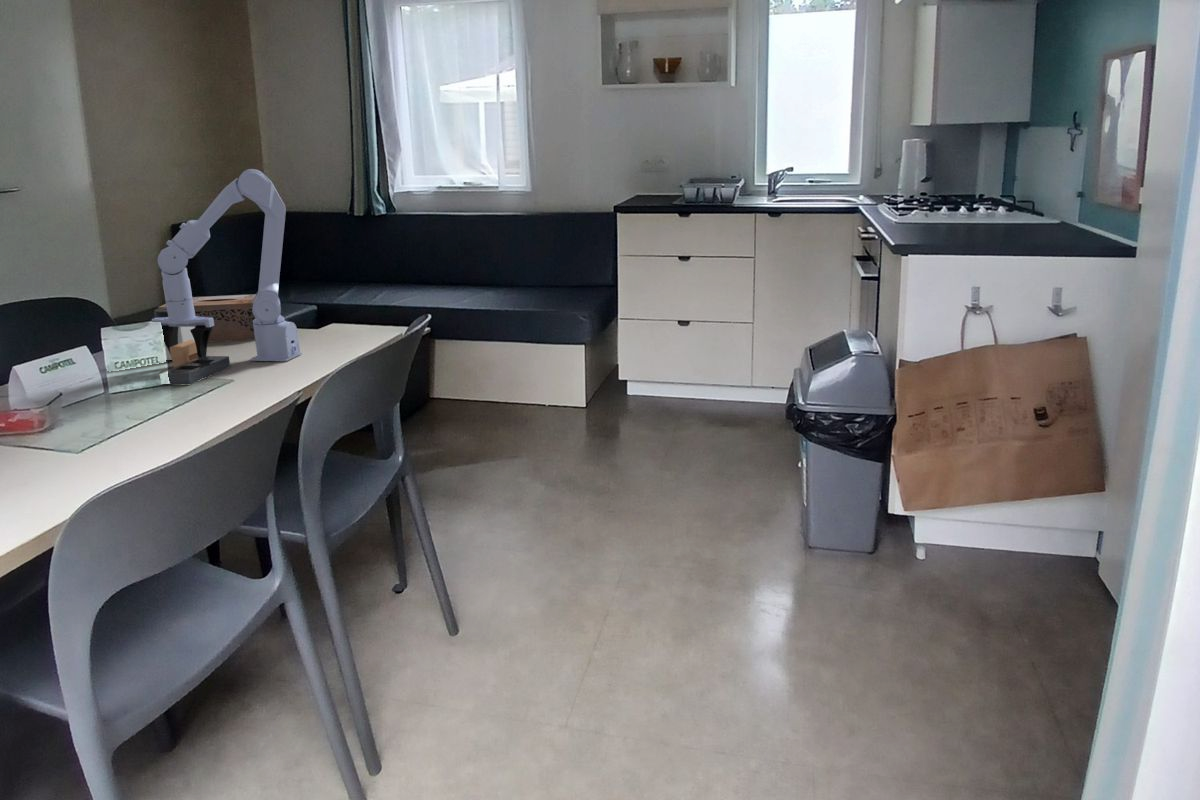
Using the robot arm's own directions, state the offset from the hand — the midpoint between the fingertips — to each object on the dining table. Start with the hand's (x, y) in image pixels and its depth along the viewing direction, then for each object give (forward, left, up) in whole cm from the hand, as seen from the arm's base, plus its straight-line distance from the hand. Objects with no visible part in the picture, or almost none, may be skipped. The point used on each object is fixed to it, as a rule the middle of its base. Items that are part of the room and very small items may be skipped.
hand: (188, 356), depth 214 cm
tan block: (0, 0, -2) cm, 2 cm away
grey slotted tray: (-7, +8, -2) cm, 11 cm away
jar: (+9, -9, -3) cm, 13 cm away
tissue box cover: (+12, -33, -3) cm, 35 cm away
